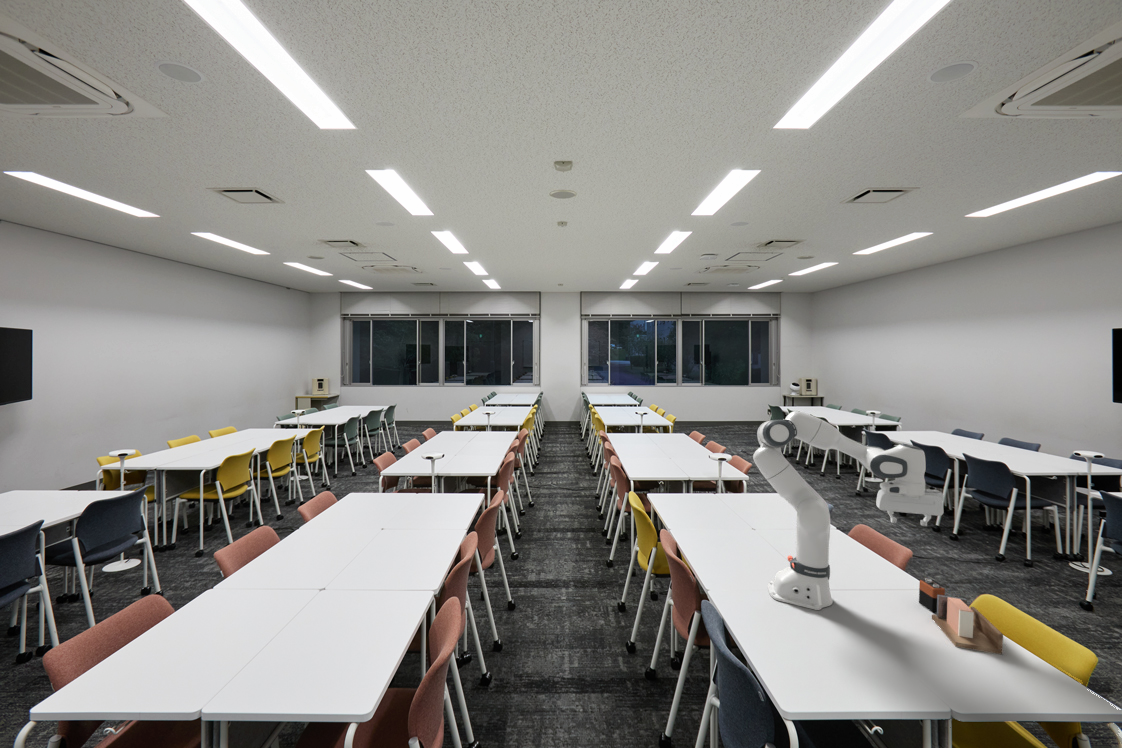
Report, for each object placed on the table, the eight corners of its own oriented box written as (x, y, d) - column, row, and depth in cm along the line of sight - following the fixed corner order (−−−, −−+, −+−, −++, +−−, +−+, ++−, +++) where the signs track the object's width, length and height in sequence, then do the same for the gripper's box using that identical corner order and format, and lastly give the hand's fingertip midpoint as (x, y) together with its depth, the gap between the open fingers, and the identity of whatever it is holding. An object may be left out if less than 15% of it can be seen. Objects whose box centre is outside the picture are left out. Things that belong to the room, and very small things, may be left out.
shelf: (955, 646, 143) (956, 627, 142) (931, 618, 158) (932, 600, 157) (1002, 654, 139) (1003, 634, 138) (973, 625, 154) (974, 606, 154)
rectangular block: (959, 636, 145) (960, 609, 145) (946, 622, 153) (947, 597, 153) (972, 638, 144) (973, 612, 144) (959, 624, 152) (960, 598, 151)
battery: (929, 602, 168) (930, 577, 167) (944, 613, 161) (945, 586, 160) (918, 602, 168) (918, 577, 167) (932, 613, 161) (933, 586, 161)
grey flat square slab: (938, 618, 155) (938, 596, 155) (936, 616, 156) (937, 594, 156) (966, 622, 153) (966, 600, 153) (964, 620, 154) (965, 598, 153)
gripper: (939, 488, 165) (938, 524, 165) (875, 482, 171) (874, 517, 172) (948, 493, 159) (946, 530, 159) (881, 487, 165) (880, 523, 166)
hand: (908, 523), depth 165 cm, fingers open, 8 cm apart
